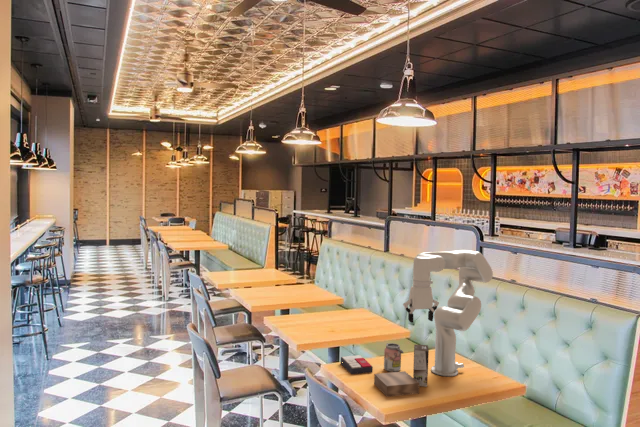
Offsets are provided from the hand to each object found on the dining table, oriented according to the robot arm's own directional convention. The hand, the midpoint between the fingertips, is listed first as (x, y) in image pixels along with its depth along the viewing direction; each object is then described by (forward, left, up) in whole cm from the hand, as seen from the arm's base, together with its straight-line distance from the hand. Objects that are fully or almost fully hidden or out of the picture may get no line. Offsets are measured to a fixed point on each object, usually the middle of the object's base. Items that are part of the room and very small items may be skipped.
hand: (420, 321), depth 219 cm
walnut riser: (+13, +4, -29) cm, 32 cm away
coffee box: (-1, 0, -28) cm, 28 cm away
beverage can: (+4, -18, -28) cm, 34 cm away
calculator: (+21, -24, -29) cm, 43 cm away
